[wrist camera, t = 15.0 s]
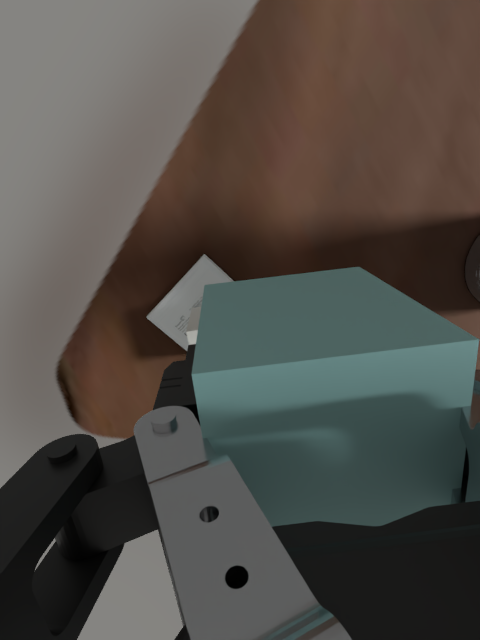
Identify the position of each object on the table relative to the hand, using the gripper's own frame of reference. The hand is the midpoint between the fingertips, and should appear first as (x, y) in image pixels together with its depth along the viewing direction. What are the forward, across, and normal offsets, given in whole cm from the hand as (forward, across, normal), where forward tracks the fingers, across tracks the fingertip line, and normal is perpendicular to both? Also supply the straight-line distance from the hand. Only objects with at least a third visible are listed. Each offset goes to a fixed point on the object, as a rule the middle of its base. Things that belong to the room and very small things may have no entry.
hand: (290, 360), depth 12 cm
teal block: (+1, 0, 0) cm, 1 cm away
